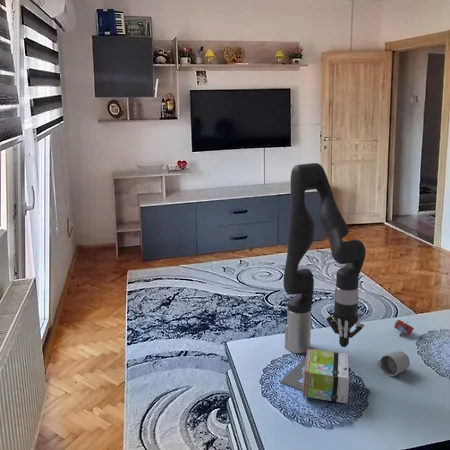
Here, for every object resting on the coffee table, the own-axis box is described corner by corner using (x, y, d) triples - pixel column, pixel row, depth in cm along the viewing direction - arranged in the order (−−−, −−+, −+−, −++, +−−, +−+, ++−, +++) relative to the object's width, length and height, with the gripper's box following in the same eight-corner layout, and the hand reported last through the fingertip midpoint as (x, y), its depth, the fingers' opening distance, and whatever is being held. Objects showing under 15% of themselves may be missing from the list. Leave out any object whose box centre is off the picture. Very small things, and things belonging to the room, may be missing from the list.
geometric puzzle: (418, 329, 205) (407, 313, 205) (415, 336, 199) (404, 319, 200) (403, 335, 209) (393, 319, 209) (400, 342, 203) (389, 326, 204)
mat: (279, 382, 174) (279, 381, 174) (306, 357, 189) (306, 356, 189) (315, 396, 166) (315, 395, 166) (340, 369, 181) (340, 368, 181)
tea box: (349, 377, 157) (303, 371, 161) (347, 404, 160) (302, 398, 163) (349, 352, 171) (306, 348, 175) (347, 377, 174) (305, 372, 177)
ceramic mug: (410, 372, 178) (412, 353, 176) (396, 380, 174) (398, 360, 172) (386, 360, 187) (387, 342, 185) (372, 367, 182) (373, 348, 180)
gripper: (322, 298, 163) (321, 345, 167) (361, 308, 155) (358, 356, 160) (332, 290, 168) (330, 336, 173) (370, 299, 161) (366, 346, 166)
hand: (343, 345), depth 166 cm, fingers closed
